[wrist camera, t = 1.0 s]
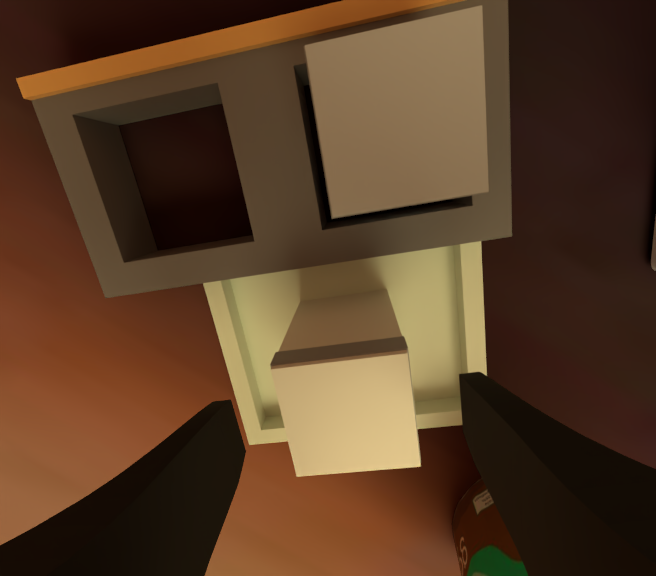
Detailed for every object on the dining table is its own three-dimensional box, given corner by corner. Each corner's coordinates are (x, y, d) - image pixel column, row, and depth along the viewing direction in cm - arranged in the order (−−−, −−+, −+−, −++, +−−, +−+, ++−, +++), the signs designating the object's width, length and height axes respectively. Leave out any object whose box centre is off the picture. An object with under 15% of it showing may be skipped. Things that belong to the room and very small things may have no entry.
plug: (388, 288, 15) (409, 351, 10) (398, 368, 16) (422, 467, 11) (298, 300, 16) (268, 368, 10) (314, 377, 17) (295, 477, 11)
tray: (467, 211, 15) (479, 214, 13) (478, 403, 17) (488, 422, 16) (209, 253, 16) (196, 259, 14) (256, 425, 19) (249, 444, 17)
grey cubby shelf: (477, 7, 12) (512, -41, 10) (486, 227, 15) (515, 237, 12) (79, 98, 14) (16, 78, 12) (141, 281, 16) (100, 300, 14)
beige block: (426, 79, 13) (484, 1, 8) (435, 188, 14) (491, 193, 9) (322, 101, 14) (302, 43, 8) (339, 204, 15) (331, 219, 9)
